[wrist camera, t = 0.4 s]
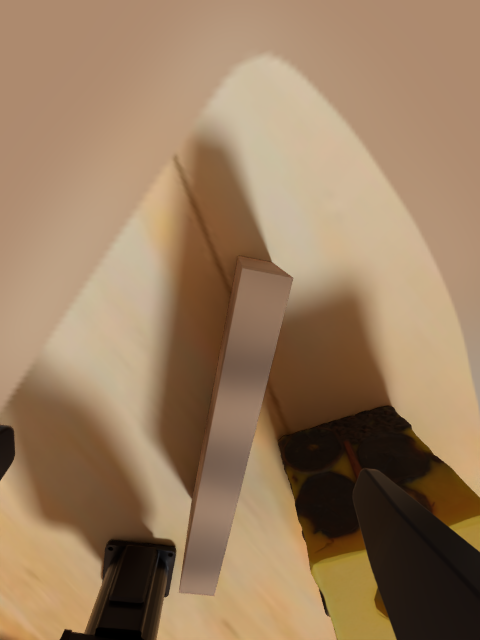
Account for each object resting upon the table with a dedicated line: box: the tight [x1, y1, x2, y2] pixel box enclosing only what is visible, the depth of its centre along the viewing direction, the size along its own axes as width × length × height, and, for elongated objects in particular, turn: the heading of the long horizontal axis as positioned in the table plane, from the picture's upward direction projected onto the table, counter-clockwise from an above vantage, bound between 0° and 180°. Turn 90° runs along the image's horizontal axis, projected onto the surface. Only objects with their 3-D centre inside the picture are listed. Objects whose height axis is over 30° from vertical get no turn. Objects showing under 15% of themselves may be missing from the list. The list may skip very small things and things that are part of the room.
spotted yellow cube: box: [278, 406, 480, 640], centre depth 21 cm, size 10×10×10 cm
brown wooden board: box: [179, 256, 293, 596], centre depth 20 cm, size 22×2×7 cm, turn 169°
